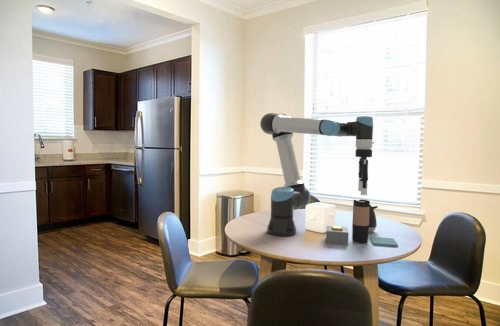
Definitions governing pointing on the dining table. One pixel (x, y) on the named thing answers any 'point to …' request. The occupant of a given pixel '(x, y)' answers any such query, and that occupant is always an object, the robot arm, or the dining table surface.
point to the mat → (383, 241)
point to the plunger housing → (337, 236)
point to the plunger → (337, 228)
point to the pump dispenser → (372, 219)
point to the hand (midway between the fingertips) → (362, 193)
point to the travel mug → (360, 221)
